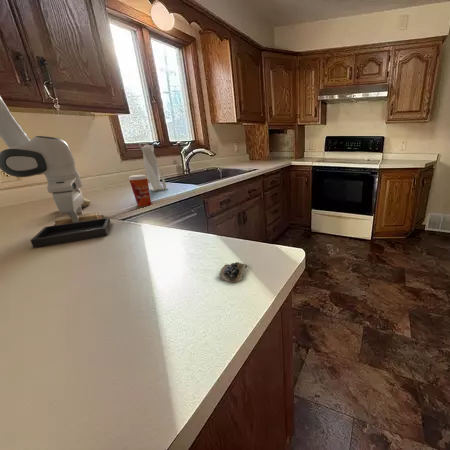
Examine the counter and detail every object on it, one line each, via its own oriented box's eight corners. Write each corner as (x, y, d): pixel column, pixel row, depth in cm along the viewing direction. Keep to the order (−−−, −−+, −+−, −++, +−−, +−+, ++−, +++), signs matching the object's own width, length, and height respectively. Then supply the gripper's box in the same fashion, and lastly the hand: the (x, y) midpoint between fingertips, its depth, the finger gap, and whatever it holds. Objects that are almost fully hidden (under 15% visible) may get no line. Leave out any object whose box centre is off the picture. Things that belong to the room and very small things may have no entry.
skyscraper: (153, 192, 146) (142, 142, 136) (146, 190, 150) (135, 142, 141) (167, 189, 153) (157, 142, 143) (160, 188, 157) (150, 142, 147)
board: (56, 226, 89) (54, 220, 88) (60, 222, 93) (58, 217, 92) (97, 220, 95) (96, 215, 94) (99, 216, 99) (98, 212, 98)
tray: (33, 248, 72) (30, 240, 71) (47, 234, 83) (45, 226, 82) (107, 235, 81) (104, 228, 80) (111, 224, 92) (109, 217, 91)
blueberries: (246, 263, 61) (245, 256, 61) (251, 279, 54) (251, 271, 53) (218, 268, 59) (217, 261, 58) (220, 285, 52) (219, 278, 51)
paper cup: (140, 208, 112) (132, 177, 108) (132, 205, 116) (124, 176, 111) (157, 204, 119) (150, 175, 114) (148, 202, 122) (142, 174, 118)
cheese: (74, 209, 120) (39, 195, 106) (84, 196, 122) (51, 182, 108) (94, 221, 116) (60, 209, 102) (104, 209, 118) (72, 195, 104)
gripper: (61, 180, 96) (73, 214, 100) (45, 188, 79) (60, 228, 84) (82, 178, 99) (93, 211, 103) (70, 186, 82) (83, 225, 87)
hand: (78, 219), depth 94 cm, fingers open, 5 cm apart
